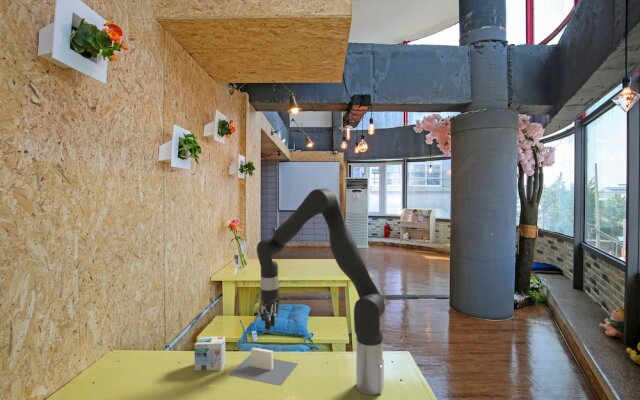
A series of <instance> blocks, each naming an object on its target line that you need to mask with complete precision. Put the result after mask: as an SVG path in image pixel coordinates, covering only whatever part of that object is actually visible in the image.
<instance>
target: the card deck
mask: <svg viewBox="0 0 640 400" xmlns="http://www.w3.org/2000/svg"><path fill="white" fill-rule="evenodd" d="M250 355H251V366H252V367H257V368H262V369H268V370H272V369H273V359H274V350H272V349H270V350H269V349H264V348H259V347H252V348H250Z"/></svg>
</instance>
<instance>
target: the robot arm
mask: <svg viewBox="0 0 640 400" xmlns="http://www.w3.org/2000/svg"><path fill="white" fill-rule="evenodd" d="M342 212H343V211H342V210H341V207H340V204H339V200H338V198H337V195H336V194H335V192H333V190H331V189H328V188H316V189H313V190H311V191H310V192H309V193H308V194H307V195H306V197H305V198H304V199H303V201H302V202H301V203H300V205H299V206H297V208H296V210H294V212H293V213H292V214H291V215H290V216H289V217H288V218H286V220H285V221H284V222H283V223H282V224H280V225H279V226H278V227H277V228H276V229H275V230H274V231H273V234H272V237H270V238H266V239H262V240H260V241H259V242H258V243H257V246H256V255H257V258H258V262H259V265H260V282H259V283H260V291H259V292H260V297H259V298H260V299H261V300H262V301H263V303H262V308H261V307H260V308H259V311H258V312H259V315H260V319H261V321H262V322H264V329H265V330H266V331H270V330H271V327H275V325H276V317H277V315H278V312H279V306H280V299H278V298H279V297H280V295H279V293H280V291H279V285H280V284H279V283H280V282H279V281H280V280H279V267H278V266H279V265H278V262H277V261H275V260H273V258H272V256H275V255H277V254H279V253H280V252H281V251H282V250H283V249H284V248H285V246H286V244H288V243H289V242H290V241H291V240H293V238H295V237H296V236H297V235H298V234H299V232H300V231H301V230H302V228H303V227H304V225H305V224H306V223H307V222H308V221H309V220H311V219H313V218H314V217H315V216H317V215H319V214H321V215H322V217H323V218H324V220H325V222H326V225H327V229H328V235H329V245H330V249H331V252H332V256H333V257H334V260H335V262H336V264H337V266H338V268H340V270H341V271H342V273H344V275H346V277H347V278H348V279H349V280H350V281H351V283H352V284H353V286H354V288H355V290H356V292H357V295H358V297H359V298H358V300H356V301H355V303H354V308H353V320H354V321H353V325H354V333H355V335H356V338H355V339H356V343H355V344H356V348H355V349H356V356H355V357H356V363H355V364H356V371H355V372H356V378H355V379H356V389H357V391H359V392H360V393H362V394H364V395H369V396H370V395H371V396H372V395H382V392H383V390H384V389H383V388H384V384H385V383H384V382H385V381H384V372H385V369H384V366H385V361H384V358H383V357H384V355H383V354H384V353H383V349H384V348H383V346H384V344H383V343H384V342H383V339H384V337H383V336H384V335H383V332H382V331H381V328H380V327H381V324H380V322H381V321H380V320H381V319H380V318H381V316H383V314H384V312H385V310H386V304H385V301H384V298H383V297H382V294H381V293H380V290H379V289H378V288H377V286H376V284H375V283H374V280H373V278H372V277H371V275H370V273H369V270H368V268H367V266H366V263H365V261H364V259H363V257H362V254H361V253H360V250H359V248H358V245H357V243H356V242H355V239H354V238H353V235H352V233H351V231H350V229H349V227H348V224H347V223H346V220H345V218H344V215H343V213H342Z"/></svg>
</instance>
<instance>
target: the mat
mask: <svg viewBox="0 0 640 400" xmlns="http://www.w3.org/2000/svg"><path fill="white" fill-rule="evenodd" d="M298 365H299V362H293V361H286V360H281V359H276V358H275V359H274V358H273V369H272V370H268V369H262V368H257V367H252V366H251V354H249V356H247V357H246V358H245V359H244V360H243V361H242V362H241V363H240V364H238V365H237V366H236V367H235V368H234V369H233V370H232V371H231V372H230V373H228V376H232V377H235V378H241V379H246V380H251V381H255V382H256V381H257V382H261V383H265V384H269V385H275V386H280V387H281V386H282V385H283V384H284V383H285V381H286V380H287V379H288V377H289V376H290V374H292V372H293V371H294V370H295V368H297V366H298Z"/></svg>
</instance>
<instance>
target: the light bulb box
mask: <svg viewBox="0 0 640 400" xmlns="http://www.w3.org/2000/svg"><path fill="white" fill-rule="evenodd" d="M225 363H226V337H225V336H199V338H198V339H197V341H196V342H195V343H194V371H195V372H198V371H199V372H200V371H201V372H202V371H206V372H207V371H222V369H223V368H224V366H225Z"/></svg>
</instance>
